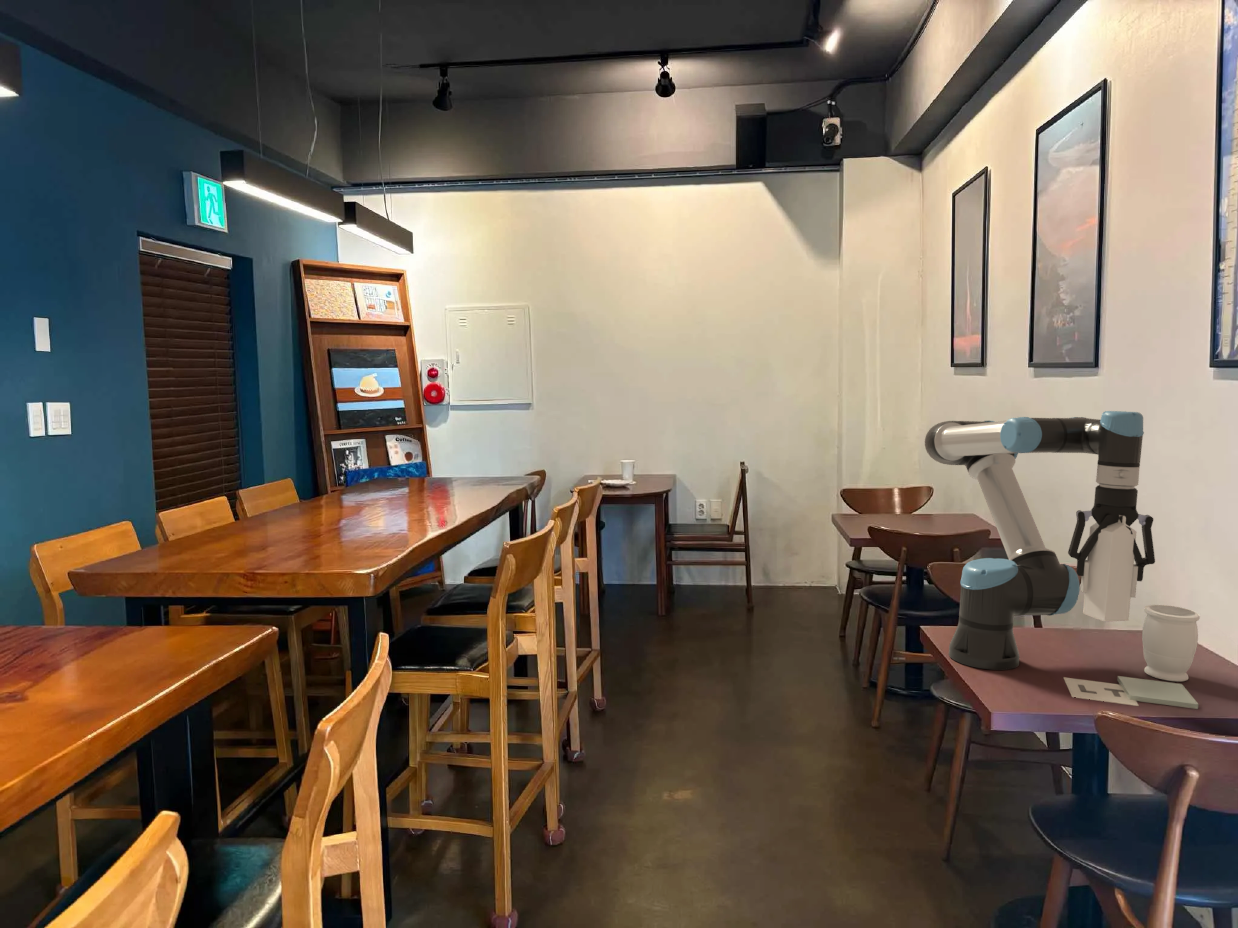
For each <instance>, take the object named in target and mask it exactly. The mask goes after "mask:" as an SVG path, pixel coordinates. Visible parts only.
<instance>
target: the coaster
mask: <svg viewBox="0 0 1238 928" xmlns="http://www.w3.org/2000/svg"><path fill="white" fill-rule="evenodd" d="M1117 682H1118V684H1119V685H1121V686H1122V688H1123V690H1124V691H1125V693H1126V694H1127V696H1128V698H1129V699H1130V700H1135V701H1136V702H1140V703H1141V702H1142V703H1150V704H1155V705H1156V704H1157V705H1167V706H1172V707H1179V708H1188V709H1195V710H1198V709H1199V703H1198V702H1197V701H1196V699H1195V698H1194V697H1193V696H1192V695H1191V693H1190V692H1189V691H1188V690H1187V688H1185V686H1184V685H1183V684H1182V683H1179V682H1177V683H1175V682H1171V681H1163V680H1162V681H1159V680H1153V679H1146V678H1145V679H1143V678H1137V677H1129V676H1120V675H1117Z"/></svg>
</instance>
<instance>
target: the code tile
mask: <svg viewBox="0 0 1238 928" xmlns="http://www.w3.org/2000/svg"><path fill="white" fill-rule="evenodd" d="M1063 680H1064V682H1065V685H1066V687H1067V690H1068V691H1069V693H1070V696H1071V697H1072V698H1074V697H1076V698H1075V699H1083V700H1089V699H1090V701H1098V702H1103V701H1104V702H1105V703H1113V704H1119V705H1128V706H1134V707H1139V706H1140V705H1139V704H1138V701H1135V700H1130V699H1129V698H1128V696H1127V694H1126V693H1125V691H1124V690H1123V688H1122V686H1121V685H1120V684H1119V683H1110V682H1104V681H1097V680H1096V681H1095V680H1087V679H1080V678H1070V677H1063Z"/></svg>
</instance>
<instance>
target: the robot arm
mask: <svg viewBox="0 0 1238 928" xmlns="http://www.w3.org/2000/svg"><path fill="white" fill-rule="evenodd" d="M1144 435H1145V432H1144V415H1143V414H1142V413H1140V412H1138V411H1126V410H1125V411H1123V410H1121V411H1120V410H1107V411H1106V410H1105V411H1103V412H1102V413H1101V417H1100V419H1099V418H1090V417H1089V418H1087V417H1083V416H1081V417H1078V416H1074V417H1073V416H1072V417H1028V416H1020V417H1019V416H1017V417H1011V418H1008V419H1007V420H998V421H994V420H984V421H982V420H981V421H978V420H977V421H974V420H947V421H942V422H938V423H937V424H934V425H933V426H932V427H931V428H929V429H928V431H927V433H926V434H925V436H924V437H925V439H924V447H925V448H924V449H925V450H926V453H927V454H928V455H929V457H930V458H932V460H934V461H936V462H938V463H940V464H943V465H946V466H948V465H949V466H965V468H966V470H967V472H968V475H969V477H970V478H972V479H975V480H977V482H978V485H979V486H980V489H981V493H982V494H983V497H984V500H985V502H986V504H987V507H988V510H989V512H990V515H991V517H992V519H993V522H994V526H995V527H996V529H997V532H998V535H999V537H1000V538H999V539H1000V540H1001V543H1002V545H1003V547H1004V550H1005V553H1006V556H1007V558H1008V559H1007V558H1001V557H1000V558H999V557H998V558H993V557H985V558H978V559H974V560H973V559H972V560H971V561H968V562H967V563H966V564H965V565H964V566H963V568H962V571H961V576H960V577H961V579H960V595H959V596H960V598H959V610H958V611H959V613H958V616H959V617H958V624H957V626H956V630H955V632H954V633H953V636H952V638H951V640H950V643H949V646H948V656H949V657H950V659H952V660H953V661H955V662H957V663H959V664H962V665H965V666H967V667H973V668H976V669H982V670H991V671H1007V670H1012V669H1016V668H1017V667H1019V665H1020V651H1019V649H1018V645H1017V642H1016V637H1015V634H1014V621H1015V619H1014V617H1016V616H1018V617H1019V616H1021V617H1022V616H1048V617H1049V616H1054V615H1062V614H1066V613H1069V612H1070V611H1071V610H1072V609H1073V608H1074V607H1075V606H1076V604H1077V602H1078V599H1079V595H1080V591H1081V592H1082V593H1083V594H1085V593H1087V584H1088V572H1089V562H1088V561H1087V558H1088V555H1089V553H1090V552H1091V550H1092V548H1093V547H1094V545H1095V544H1096V542H1097V540H1098V534H1099V533H1101V529H1104V528H1106V527H1107V526H1108V525H1111V524H1114V523H1117V522H1118V520H1120V522H1121V523H1122V520H1123V516H1125V517H1126V524H1127V525H1128V526H1129V527H1127V526H1126V527H1127V528H1128V529H1129V530H1130V531H1131V528H1132V527H1131V526H1132V525H1133V524H1134V522H1136V521H1137V520H1138V524H1139V525H1141V533H1142V541H1143V550H1144V557H1143V556H1142V554H1141V551H1140V549H1139V546H1138V544H1137V542H1136V541H1137V540H1136V541H1135V539H1134V544H1133V554H1134V562H1135V563H1134V566H1133V576H1132V588H1131V598H1136V595H1137V584H1138V583H1137V582H1143V578H1144V569H1145V567H1146V566H1147V565H1154V564H1155V562H1156V557H1155V549H1154V542H1153V534H1152V533H1153V532H1152V526H1153V522H1154V517H1153V516H1151V515H1149V514H1140V513H1139V512H1138V511H1137V503H1138V500H1137V499H1138V493H1139V492H1138V489H1137V488H1136V487H1137V486H1138V485H1139V482H1140V481H1139V479H1140V478H1139V477H1140V466H1141V457H1142V447H1143V437H1144ZM1033 453H1035V454H1036V453H1037V454H1039V453H1046V454H1047V453H1052V454H1054V453H1056V454H1057V453H1059V454H1060V453H1061V454H1063V453H1064V454H1065V453H1066V454H1091V455H1097V456H1098V457H1097V465H1096V466H1097V468H1096V476H1095V477H1096V479H1095V482H1096V483H1097V484H1098V485H1097V486H1096V487H1094V488H1095V491H1094V500H1093V501H1094V502H1093V506H1092V508H1091V509H1090V510H1081V509H1080V510H1077V511H1076V523H1075V527H1074V531H1073V535H1072V538H1071V541H1070V545H1069V547H1068V551H1067V554H1068V555H1069V556H1070V558H1073V559H1076V570H1075V569H1074V568H1073V567H1072V566H1070V565H1069V564H1066V563H1060V561H1059V559H1058V556H1057V554H1056V552H1055V551H1053V550H1052V549H1049V548H1047V547H1046V545H1045V543H1044V540H1043V538H1042V536H1041V534H1040V532H1039V529H1038V527H1037V524H1036V522H1035V520H1034V518H1033V515H1032V513H1031V510H1030V508H1029V507H1030V506H1029V505H1028V502H1027V500H1026V498H1025V496H1024V494H1023V491H1022V489H1021V486H1020V484H1019V482H1018V479H1017V477H1016V475H1015V472H1014V470H1013V468H1014V466H1015V464H1016V459H1017V457H1018V455H1019V454H1033ZM1119 515H1122V516H1120V517H1119ZM1090 517H1092V519H1094V521H1095V523H1097V524H1098V525H1099V527H1098V528H1097V529H1096V530H1095V531H1094V532H1093V533H1092V535H1091V536H1090V537H1089V536H1088V537H1087V539H1086V541H1085V543H1084V544H1083V546H1082V547H1081V549H1080V550H1079V547H1080V544H1081V541H1082V536H1083V534H1084V531H1085V530H1084V529H1085V527H1086V522H1088V521H1089V520H1090ZM1130 527H1131V528H1130ZM1131 534H1133V533H1132V531H1131ZM1078 550H1079V552H1078ZM1079 577H1080V578H1081V579H1080V580H1081V581H1080V580H1079Z"/></svg>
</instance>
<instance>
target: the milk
mask: <svg viewBox="0 0 1238 928" xmlns="http://www.w3.org/2000/svg"><path fill="white" fill-rule="evenodd" d="M1120 516H1122V515H1119V517H1120ZM1126 526H1127V527H1129V526H1128V525H1127V524H1126V517H1125V516H1123V520H1122V523H1121V522H1120V520H1118V522H1117V523H1114V524H1111V525H1108V526H1107V527H1106V528H1104V529H1101V533H1099V534H1098V540H1097V542H1096V544H1095V545H1094V547H1093V548H1092V550H1091V552H1090V553H1089V555H1088V556H1087V558H1086V560H1087V561H1088V562H1089V572H1088V584H1087V593H1084V594H1083V595H1084V596H1083V607H1082V608H1083V610H1082V614H1083V615H1085V616H1088V617H1091V618H1093V619H1096V620H1098V621H1101V622H1103V623H1109V622H1126V621H1130V620H1129V618H1130V609H1131V598H1132V597H1131V588H1132V576H1133V566H1134V564H1135V563H1134V562H1135V560H1134V554H1133V544H1134V539H1135V541H1137V530H1135V529H1134V528H1133V527H1131V526H1130V528H1131V531H1132V533H1133V534H1131V531H1130V530H1129V529H1128V528H1127V527H1126ZM1098 527H1099V525H1098V524H1097V522H1095V523H1093V524H1092V525H1091V526H1089V535H1088V537H1090V536H1091V535H1092V533H1093V532H1094V531H1095V530H1096V529H1097V528H1098Z"/></svg>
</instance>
